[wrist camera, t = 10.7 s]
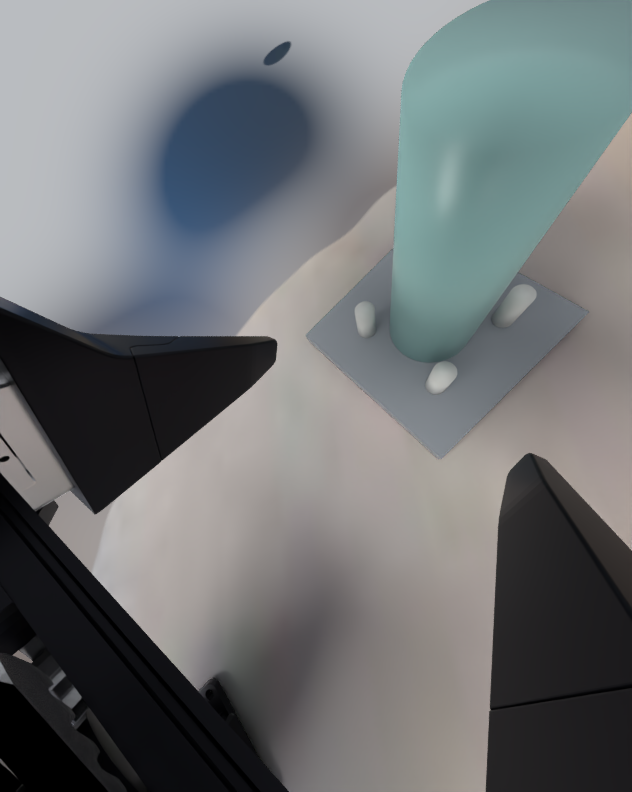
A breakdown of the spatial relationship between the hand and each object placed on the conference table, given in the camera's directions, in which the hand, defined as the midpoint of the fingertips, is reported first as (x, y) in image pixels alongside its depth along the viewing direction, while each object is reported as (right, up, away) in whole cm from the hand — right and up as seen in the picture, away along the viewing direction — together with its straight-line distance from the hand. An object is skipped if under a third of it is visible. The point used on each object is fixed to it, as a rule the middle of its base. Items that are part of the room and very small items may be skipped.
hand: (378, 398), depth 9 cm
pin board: (+5, +4, +9) cm, 11 cm away
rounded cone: (+5, +5, +8) cm, 11 cm away
